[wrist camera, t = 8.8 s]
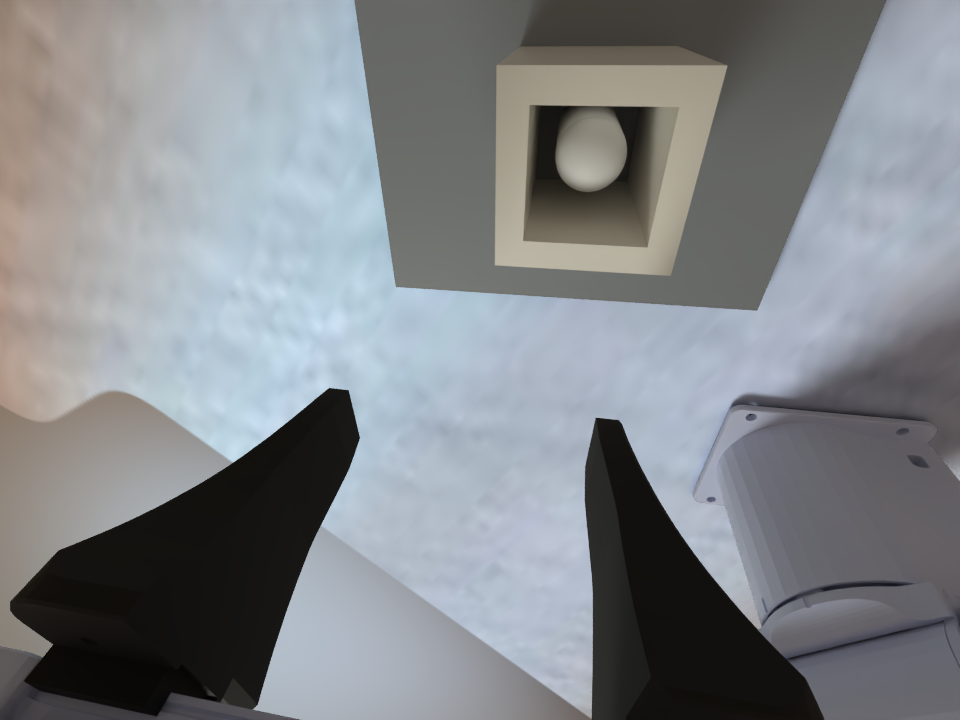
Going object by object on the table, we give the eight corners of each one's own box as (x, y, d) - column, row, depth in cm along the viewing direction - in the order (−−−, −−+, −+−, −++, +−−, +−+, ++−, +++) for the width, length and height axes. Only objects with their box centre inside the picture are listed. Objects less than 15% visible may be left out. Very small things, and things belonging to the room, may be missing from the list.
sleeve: (677, 45, 14) (727, 65, 10) (644, 203, 18) (670, 276, 13) (519, 46, 15) (496, 65, 10) (514, 198, 18) (494, 265, 14)
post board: (939, -180, 12) (1186, -304, 7) (749, 298, 20) (803, 386, 16) (346, -141, 14) (231, -215, 9) (402, 277, 22) (357, 348, 18)
